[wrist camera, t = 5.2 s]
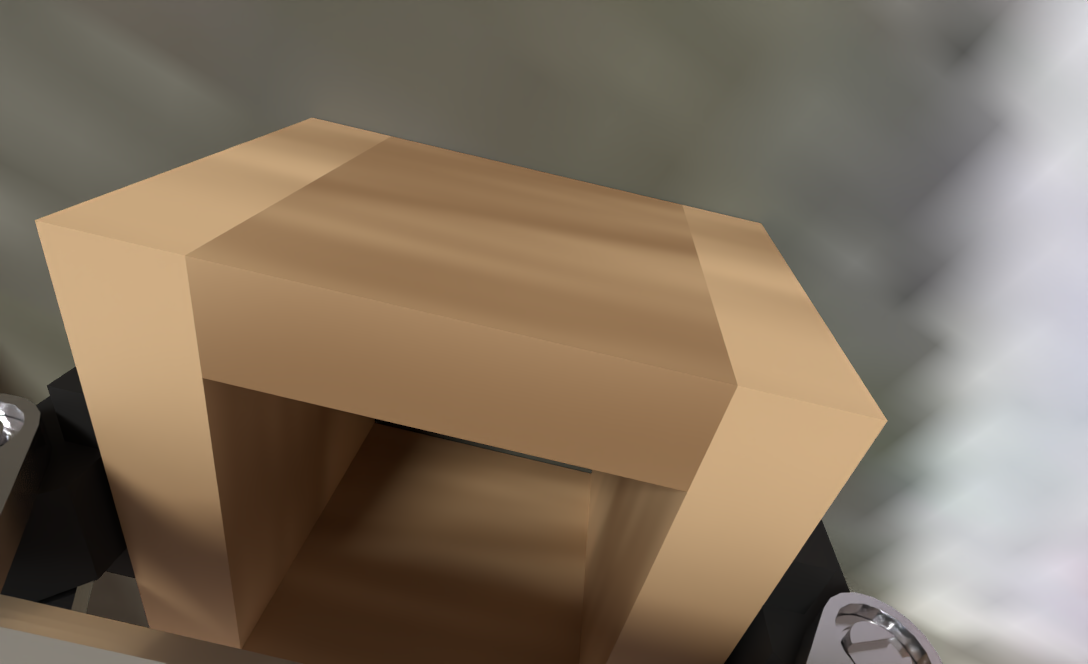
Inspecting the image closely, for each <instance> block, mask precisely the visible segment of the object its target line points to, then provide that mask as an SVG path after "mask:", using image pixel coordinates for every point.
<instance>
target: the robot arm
mask: <svg viewBox="0 0 1088 664" xmlns="http://www.w3.org/2000/svg"><path fill="white" fill-rule="evenodd" d="M47 387H48V390H49V394H50V396H49V397H48V398H46V399H45V400H43V401H42V402H40V403H39V404H38V405H35V403H33V402H31V401H29V400H27V399H25V398H23V397H20V396H15V395H10V394H0V664H302V663H298V662H294V661H290V660H285V659H281V658H277V657H272V656H268V655H264V654H260V653H255V652H251V651H247V650H242V649H238V648H234V647H230V646H225V645H221V644H217V643H212V642H208V641H203V640H199V639H195V638H190V637H186V636H182V635H177V634H173V633H168V632H164V631H160V630H155V629H151V628H146V627H142V626H138V625H133V624H129V623H125V622H120V621H116V620H111V619H107V618H103V617H98V616H94V615H90V614H86V611H87V607H88V603H89V599H90V595H91V591H92V586H93V582H94V581H95V580H97V579H99V578H100V577H101V576H102V575H103V573H104V572H105V571H107V572H111V573H115V574H120V575H124V576H128V577H132V578H136V577H135V574H134V570H133V567H132V563H131V560H130V556H129V553H128V549H127V545H126V542H125V538H124V535H123V531H122V528H121V524H120V521H119V517H118V514H117V510H116V506H115V503H114V499H113V496H112V492H111V489H110V485H109V482H108V478H107V474H106V471H105V467H104V464H103V460H102V457H101V453H100V450H99V446H98V443H97V439H96V435H95V432H94V428H93V425H92V421H91V418H90V414H89V411H88V407H87V404H86V400H85V396H84V393H83V389H82V386H81V382H80V379H79V375H78V372H77V368H76V367H74V368H73V369H71V370H70V371H68V372H67V373H65V374H64V375H62V376H61V377H59V378H58V379H56V380H55V381H53V382H52V383H50V384H49V385H47ZM724 664H942V661H941V659H940V657H939V655H938V653H937V652H936V650H935V649H934V648H933V646H932V645H931V643H930V642H929V641H928V639H927V638H926V636H925V635H924V634H923V633H922V632H921V631H920V630H919V629H918V628H917V627H916V626H915V625H914V624H913V623H912V622H911V621H910V620H909V619H907V618H906V617H905V616H903V615H902V614H901V613H899V612H898V611H897V610H895V609H894V608H892V607H891V606H889V605H887V604H885V603H883V602H881V601H879V600H877V599H875V598H874V597H870V596H867V595H863V594H859V593H850V591H849V589H848V586H847V584H846V581H845V578H844V576H843V573H842V571H841V568H840V566H839V563H838V560H837V558H836V555H835V553H834V550H833V548H832V545H831V542H830V540H829V537H828V535H827V532H826V530H825V527H824V525H823V522H822V519H821V520H820V522H819V523H818V525H817V526H816V528H815V529H814V531H813V532H812V534H811V535H810V537H809V538H808V539H807V541H806V542H805V544H804V545H803V547H802V548H801V550H800V551H799V553H798V554H797V556H796V557H795V559H794V560H793V562H792V563H791V565H790V566H789V568H788V569H787V571H786V572H785V574H784V575H783V577H782V578H781V580H780V581H779V583H778V584H777V586H776V587H775V588H774V590H773V591H772V593H771V594H770V596H769V597H768V599H767V600H766V602H765V603H764V605H763V606H762V608H761V609H760V611H759V612H758V614H757V615H756V617H755V618H754V620H753V621H752V623H751V624H750V626H749V627H748V629H747V630H746V632H745V633H744V635H743V636H742V637H741V639H740V640H739V642H738V643H737V645H736V646H735V648H734V649H733V651H732V652H731V654H730V655H729V657H728V658H727V660H726V661H725V663H724Z"/></svg>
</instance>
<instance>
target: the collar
mask: <svg viewBox="0 0 1088 664" xmlns="http://www.w3.org/2000/svg"><path fill="white" fill-rule="evenodd" d="M35 223H36V226H37V230H38V233H39V237H40V240H41V244H42V247H43V251H44V254H45V258H46V262H47V265H48V269H49V272H50V276H51V279H52V283H53V286H54V290H55V294H56V297H57V301H58V304H59V308H60V311H61V315H62V318H63V322H64V325H65V329H66V333H67V336H68V340H69V343H70V347H71V350H72V354H73V357H74V361H75V364H76V368H77V372H78V375H79V379H80V382H81V386H82V389H83V393H84V396H85V400H86V404H87V407H88V411H89V414H90V418H91V421H92V425H93V428H94V432H95V435H96V439H97V443H98V446H99V450H100V453H101V457H102V460H103V464H104V467H105V471H106V474H107V478H108V482H109V485H110V489H111V492H112V496H113V499H114V503H115V506H116V510H117V514H118V517H119V521H120V524H121V528H122V531H123V535H124V538H125V542H126V545H127V549H128V553H129V556H130V560H131V563H132V567H133V570H134V574H135V577H136V581H137V584H138V588H139V592H140V595H141V599H142V602H143V606H144V609H145V613H146V616H147V620H148V624H149V627H150V628H151V629H155V630H160V631H164V632H168V633H173V634H177V635H182V636H186V637H190V638H195V639H199V640H203V641H208V642H212V643H217V644H221V645H225V646H230V647H234V648H238V649H242V650H247V651H251V652H255V653H260V654H264V655H268V656H272V657H277V658H281V659H285V660H290V661H294V662H298V663H302V664H724V663H725V661H726V660H727V658H728V657H729V655H730V654H731V652H732V651H733V649H734V648H735V646H736V645H737V643H738V642H739V640H740V639H741V637H742V636H743V635H744V633H745V632H746V630H747V629H748V627H749V626H750V624H751V623H752V621H753V620H754V618H755V617H756V615H757V614H758V612H759V611H760V609H761V608H762V606H763V605H764V603H765V602H766V600H767V599H768V597H769V596H770V594H771V593H772V591H773V590H774V588H775V587H776V586H777V584H778V583H779V581H780V580H781V578H782V577H783V575H784V574H785V572H786V571H787V569H788V568H789V566H790V565H791V563H792V562H793V560H794V559H795V557H796V556H797V554H798V553H799V551H800V550H801V548H802V547H803V545H804V544H805V542H806V541H807V539H808V538H809V537H810V535H811V534H812V532H813V531H814V529H815V528H816V526H817V525H818V523H819V522H820V520H821V519H822V517H823V516H824V514H825V513H826V511H827V510H828V508H829V507H830V505H831V504H832V502H833V501H834V499H835V498H836V496H837V495H838V493H839V492H840V490H841V489H842V488H843V486H844V485H845V483H846V482H847V480H848V479H849V477H850V476H851V474H852V473H853V471H854V470H855V468H856V467H857V465H858V464H859V462H860V461H861V459H862V458H863V456H864V455H865V453H866V452H867V450H868V449H869V447H870V446H871V444H872V443H873V441H874V440H875V439H876V437H877V436H878V434H879V433H880V431H881V430H882V428H883V427H884V425H885V424H886V422H887V419H886V418H885V416H884V415H883V413H882V412H881V410H880V409H879V407H878V405H877V404H876V402H875V401H874V399H873V398H872V396H871V395H870V393H869V391H868V390H867V388H866V387H865V385H864V384H863V382H862V380H861V379H860V377H859V376H858V374H857V373H856V371H855V370H854V368H853V366H852V365H851V363H850V362H849V360H848V359H847V357H846V355H845V354H844V352H843V351H842V349H841V348H840V346H839V345H838V343H837V341H836V340H835V338H834V337H833V335H832V334H831V332H830V330H829V329H828V327H827V326H826V324H825V323H824V321H823V320H822V318H821V316H820V315H819V313H818V312H817V310H816V309H815V307H814V305H813V304H812V302H811V301H810V299H809V298H808V296H807V295H806V293H805V291H804V290H803V288H802V287H801V285H800V284H799V282H798V280H797V279H796V277H795V276H794V274H793V273H792V271H791V270H790V268H789V266H788V265H787V263H786V262H785V260H784V259H783V257H782V255H781V254H780V252H779V251H778V249H777V248H776V246H775V245H774V243H773V241H772V240H771V238H770V237H769V235H768V234H767V232H766V230H765V229H764V227H763V226H762V224H761V223H757V222H752V221H748V220H744V219H740V218H735V217H731V216H727V215H723V214H719V213H714V212H710V211H706V210H702V209H697V208H693V207H689V206H685V205H680V204H676V203H672V202H668V201H663V200H659V199H655V198H651V197H646V196H642V195H638V194H634V193H629V192H625V191H621V190H617V189H612V188H608V187H604V186H600V185H595V184H591V183H587V182H583V181H579V180H574V179H570V178H566V177H562V176H557V175H553V174H549V173H545V172H540V171H536V170H532V169H528V168H523V167H519V166H515V165H511V164H506V163H502V162H498V161H494V160H489V159H485V158H481V157H477V156H472V155H468V154H464V153H460V152H455V151H451V150H447V149H443V148H439V147H434V146H430V145H426V144H422V143H417V142H413V141H409V140H405V139H400V138H396V137H392V136H388V135H383V134H379V133H375V132H371V131H366V130H362V129H358V128H354V127H349V126H345V125H341V124H337V123H332V122H328V121H324V120H320V119H316V118H310V119H308V120H305V121H302V122H299V123H297V124H294V125H291V126H289V127H286V128H283V129H280V130H278V131H275V132H272V133H270V134H267V135H264V136H262V137H259V138H256V139H253V140H251V141H248V142H245V143H243V144H240V145H237V146H234V147H232V148H229V149H226V150H224V151H221V152H218V153H216V154H213V155H210V156H207V157H205V158H202V159H199V160H197V161H194V162H191V163H188V164H186V165H183V166H180V167H178V168H175V169H172V170H170V171H167V172H164V173H161V174H159V175H156V176H153V177H151V178H148V179H145V180H142V181H140V182H137V183H134V184H132V185H129V186H126V187H124V188H121V189H118V190H115V191H113V192H110V193H107V194H105V195H102V196H99V197H96V198H94V199H91V200H88V201H86V202H83V203H80V204H78V205H75V206H72V207H69V208H67V209H64V210H61V211H59V212H56V213H53V214H50V215H48V216H45V217H42V218H40V219H37V220H35ZM375 419H379V420H384V421H388V422H392V423H396V424H401V425H405V426H409V427H413V428H418V429H422V430H426V431H430V432H435V433H439V434H443V435H448V436H452V437H456V438H460V439H465V440H469V441H473V442H477V443H482V444H486V445H490V446H494V447H499V448H503V449H507V450H511V451H516V452H520V453H524V454H528V455H533V456H537V457H541V458H545V459H550V460H554V461H558V462H562V463H567V464H571V465H575V466H579V467H584V468H588V469H592V472H591V474H590V473H586V472H582V471H577V470H573V469H569V468H565V467H560V466H556V465H552V464H548V463H543V462H539V461H535V460H531V459H526V458H522V457H518V456H514V455H509V454H505V453H501V452H497V451H492V450H488V449H484V448H480V447H475V446H471V445H467V444H463V443H458V442H454V441H450V440H446V439H441V438H437V437H433V436H429V435H424V434H420V433H416V432H411V431H407V430H403V429H399V428H394V427H390V426H386V425H382V424H377V423H375Z"/></svg>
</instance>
